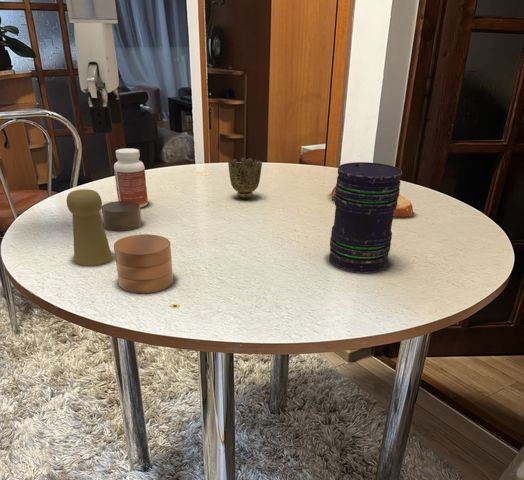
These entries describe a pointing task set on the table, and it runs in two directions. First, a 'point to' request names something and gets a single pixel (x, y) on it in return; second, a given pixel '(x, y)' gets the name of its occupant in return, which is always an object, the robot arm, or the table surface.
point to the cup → (245, 176)
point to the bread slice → (401, 210)
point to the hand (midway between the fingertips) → (108, 127)
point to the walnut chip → (121, 215)
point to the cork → (88, 228)
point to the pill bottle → (130, 177)
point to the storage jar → (364, 216)
